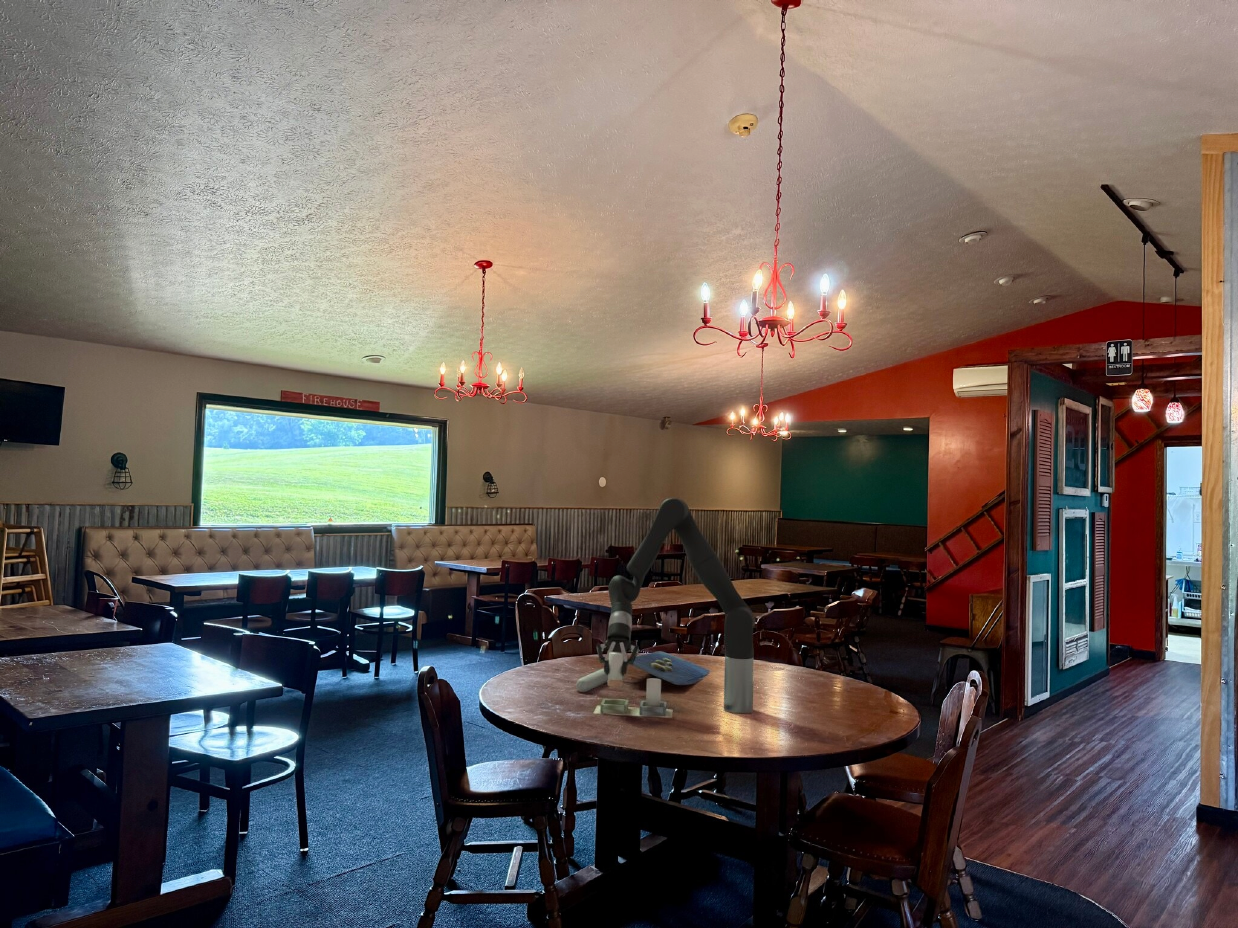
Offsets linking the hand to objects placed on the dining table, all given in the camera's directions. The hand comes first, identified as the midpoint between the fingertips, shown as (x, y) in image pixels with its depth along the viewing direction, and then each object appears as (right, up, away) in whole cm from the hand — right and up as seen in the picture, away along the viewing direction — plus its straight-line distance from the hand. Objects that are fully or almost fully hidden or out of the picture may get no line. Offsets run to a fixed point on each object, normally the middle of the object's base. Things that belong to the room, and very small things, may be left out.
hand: (614, 673), depth 250 cm
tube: (-7, -16, +41) cm, 45 cm away
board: (+6, -13, +1) cm, 15 cm away
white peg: (0, -4, +2) cm, 5 cm away
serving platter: (+19, -18, +60) cm, 65 cm away
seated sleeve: (+12, -12, 0) cm, 17 cm away
